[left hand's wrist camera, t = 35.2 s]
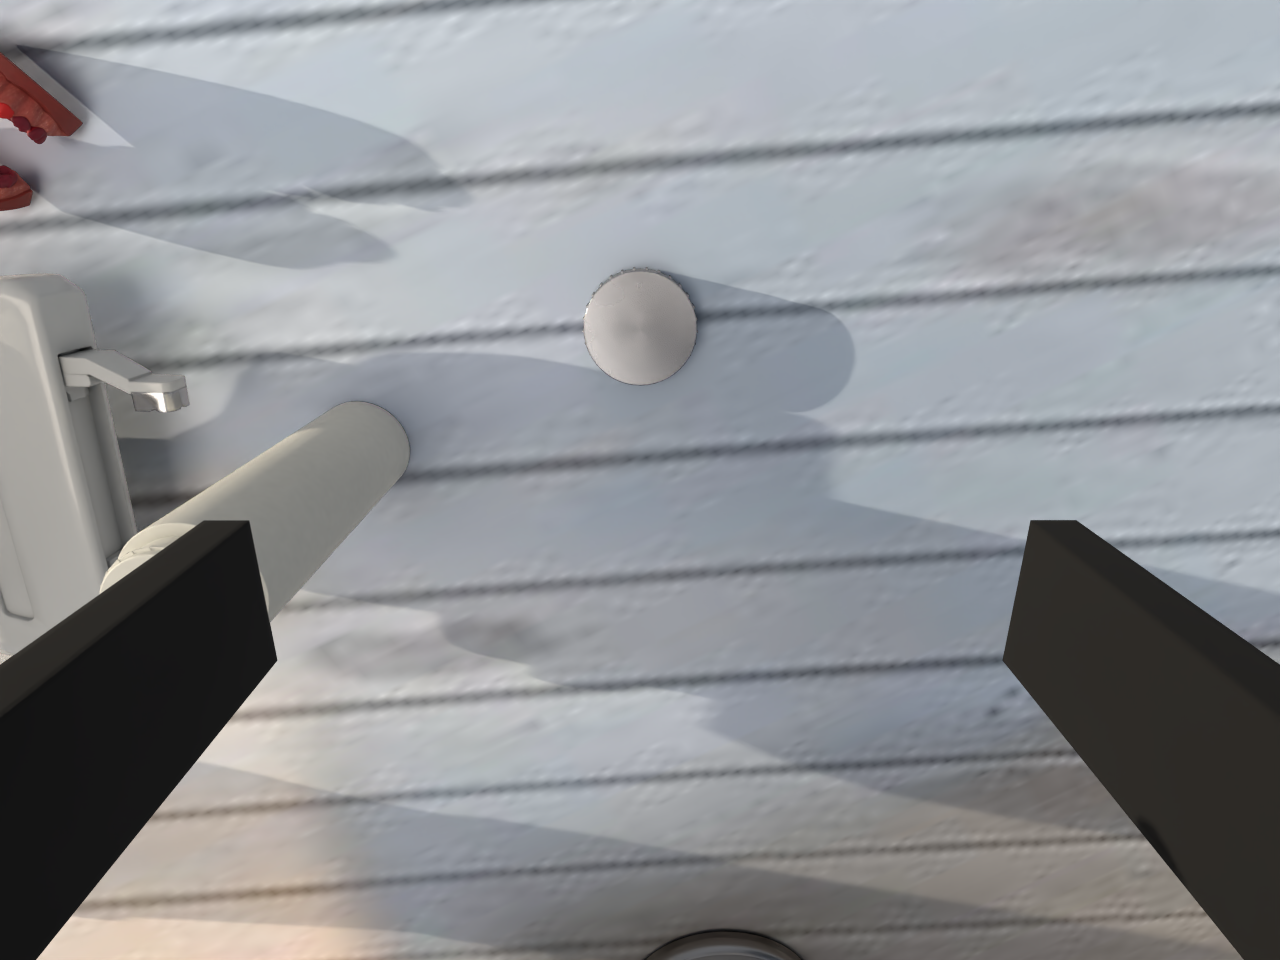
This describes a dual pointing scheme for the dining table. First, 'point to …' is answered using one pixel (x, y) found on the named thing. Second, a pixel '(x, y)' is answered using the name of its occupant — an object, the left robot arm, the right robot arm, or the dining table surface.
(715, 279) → the dining table surface
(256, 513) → the bottle
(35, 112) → the dental model
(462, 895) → the dining table surface
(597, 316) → the lid
